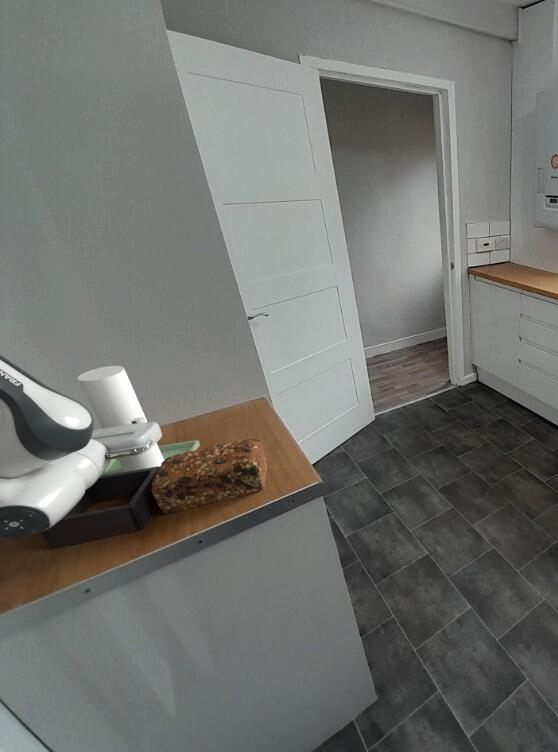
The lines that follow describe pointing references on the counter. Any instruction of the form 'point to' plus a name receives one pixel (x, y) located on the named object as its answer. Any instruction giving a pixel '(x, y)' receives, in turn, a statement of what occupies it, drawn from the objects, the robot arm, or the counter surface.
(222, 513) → the counter surface
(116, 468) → the tray
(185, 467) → the bread
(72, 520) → the basket
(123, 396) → the cylindrical container
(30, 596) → the counter surface
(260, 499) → the counter surface
